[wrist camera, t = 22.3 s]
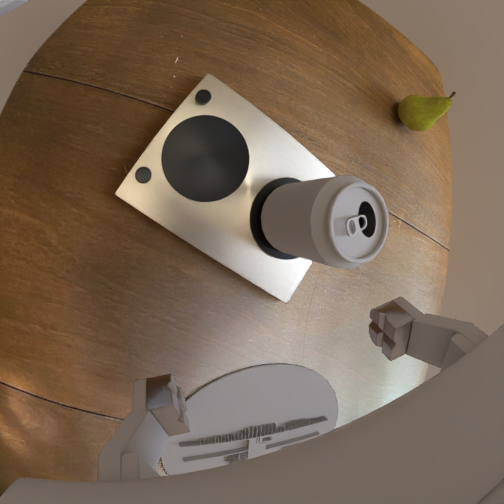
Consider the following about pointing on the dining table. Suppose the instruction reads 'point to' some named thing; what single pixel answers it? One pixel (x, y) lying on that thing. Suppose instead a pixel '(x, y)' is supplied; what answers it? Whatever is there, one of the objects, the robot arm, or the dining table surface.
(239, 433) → the plate
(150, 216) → the hob
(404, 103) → the fruit
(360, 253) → the can
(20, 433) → the dining table surface
